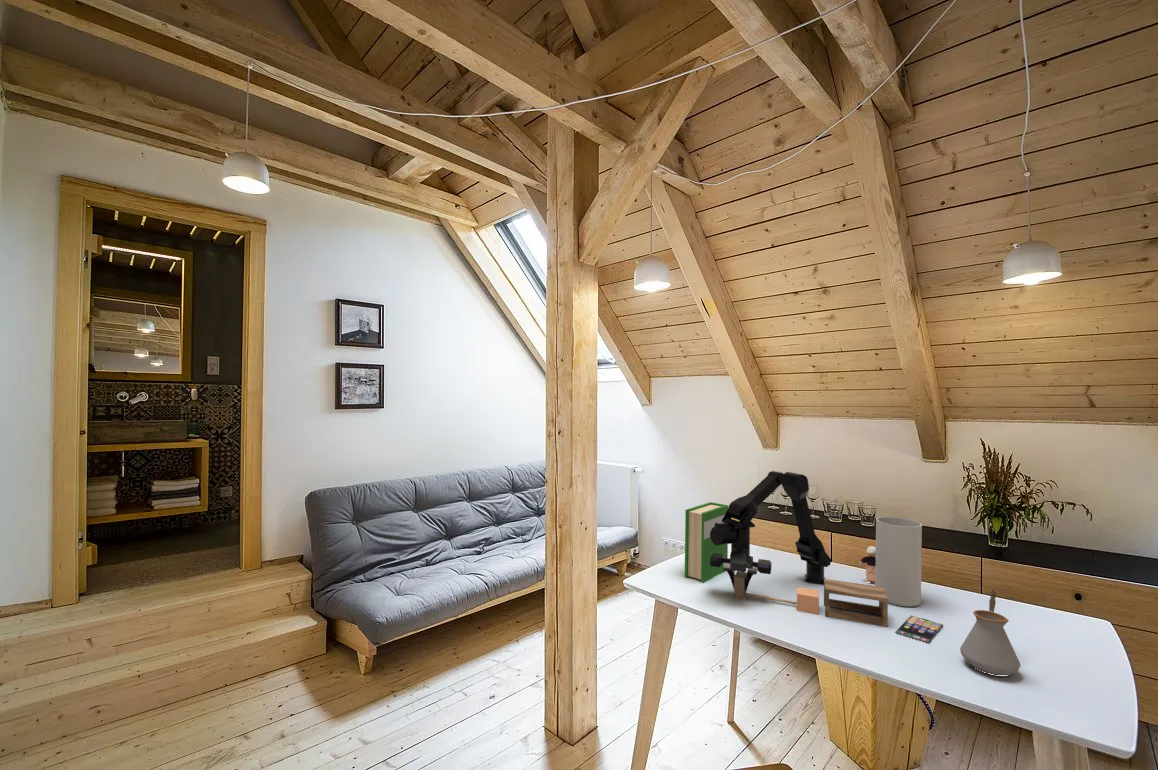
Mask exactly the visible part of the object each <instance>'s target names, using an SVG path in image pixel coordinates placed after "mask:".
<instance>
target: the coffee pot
mask: <svg viewBox="0 0 1158 770" xmlns="http://www.w3.org/2000/svg"><path fill="white" fill-rule="evenodd" d="M996 592H997V593H998V595H996ZM988 594H989V596H990V597H989V601H988V602H989V604H988V605H989V609H988V610H984V609H977V610H974V611H973V612H972V613H973V615H974V617H975V620H976V621H975V623H974V624H973V626H972V628H971V629H970V631H969V633H968V634H967V635H966V636H967V637H966V638H965V639H964V641H963V643H962V644H961V646H960V650H959V651H960V654H961V656H962V658H963V659H964V660H965V661H966V662H967V663H968V664H969V665H970V664H971V665H972V666H973V667H974V668H976V669H978V670H980V671H983V672H986V673H990V674H994V675H1009V676H1010V675H1013V674H1015V673H1017V672H1018V671H1019V670H1020V668H1021V663H1020V660H1019V657H1018V655H1017V653H1016V652H1015V649H1014V647H1013V645H1012V642H1011V640H1010V639H1009V637H1008V634H1007V632H1006V630H1005V628H1004V627H1005V625H1006V624H1007V623H1008V622H1009V621H1010V620H1009V619H1008V618H1006V616H1004V615H1002V614H1000V613H997V612H995V608H996V602H997V601H996V598H997V597H999V596H1000V592H999V591H997V590H995V588H993V589H990V590H988ZM971 665H970V666H971ZM972 666H971V667H972ZM973 667H972V668H973ZM974 668H973V669H974ZM976 669H975V670H976ZM978 670H977V671H978ZM980 671H979V672H980Z"/></svg>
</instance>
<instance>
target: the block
mask: <svg viewBox="0 0 1158 770" xmlns="http://www.w3.org/2000/svg"><path fill="white" fill-rule="evenodd" d="M746 576H747V571H746V572H741V571H735V576H734V588H733V600H738V601H744V600H745V599H744V598H746V596H748V597H751V598H756V599H757V598H758V599H763V600H768V601H773V602H779V603H786V604H791V605H796V611H797V612H804V613H809V614H815V615H819V612H820V611H819V610H820V607H819V606H820V591H819V590H818V589H812V588H806V587H801V586H798V587H797V591H796V601H793V600H788V599H782V598H777V597H771V596H766V595H761V594H754V593H748V592H747V591H745V583H746Z"/></svg>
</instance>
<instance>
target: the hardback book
mask: <svg viewBox="0 0 1158 770" xmlns="http://www.w3.org/2000/svg"><path fill="white" fill-rule="evenodd" d="M728 508H729V504H722V503H718V502H712V501H711V502H710V501H709V502H706V503H703V504H699V505H696V506H693V507H689V508H687V509H685V519H684V523H685V526H684V527H685V528H684V530H685V531H684V537H685V538H684V578H685V577H686V578H685V579H689V578H690V577H691V578H694V579H697V580H700V583H701V582H702V584H705V583H706V581H707V582H708V581H710V580H712V579H714V578H716V577H718V576H720V575H721V573H722V574H724V573H725V572H726V571H725V570H723V567H724V565H723V564H722V565H721V566H720V567H713V566H710V557H711V555H712V554H713V553H717V554H724V558H729V557H728V554H729V553H728V551H729V550H728V549H729V544H724V545H718V546H717V545H715V544H714V543H713V542H712V541H711V538H710V532H711V529H712V528H713V527H715V523H723V522H722V519H723V517H724V515H725V513H726V511H727V510H728ZM719 574H720V575H719ZM717 575H718V576H717ZM715 576H716V577H715ZM713 577H714V578H713ZM704 582H705V583H704Z"/></svg>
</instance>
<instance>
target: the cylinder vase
mask: <svg viewBox="0 0 1158 770" xmlns="http://www.w3.org/2000/svg"><path fill="white" fill-rule="evenodd" d="M875 519H876V520H875V548H876V556H875V557H876V579H875V581H874V582H875V584H874V586H879V587H883V588H884V591H885V593H886V595H887V598H888V604H891V605H893V604H894V606H898V607H905V608H907V607H908V608H910V607H911V608H913V607H917V606H920V605H921V602H922V556H923V555H922V549H923V548H922V545H923V544H922V543H923V542H922V541H923V540H922V539H923V537H922V533H923V524H922V523H921V522H919V521H917V520H912V519H908V518H903V517H894V516H879V517H877V518H875Z"/></svg>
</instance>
